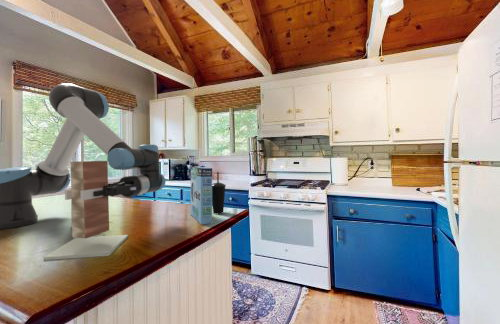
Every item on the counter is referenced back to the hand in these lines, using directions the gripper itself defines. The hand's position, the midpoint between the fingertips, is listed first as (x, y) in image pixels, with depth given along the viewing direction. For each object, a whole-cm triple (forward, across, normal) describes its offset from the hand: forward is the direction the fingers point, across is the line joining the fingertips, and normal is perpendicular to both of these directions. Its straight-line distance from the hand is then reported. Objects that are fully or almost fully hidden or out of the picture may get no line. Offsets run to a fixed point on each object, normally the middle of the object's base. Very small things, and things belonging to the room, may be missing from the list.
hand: (73, 195), depth 68 cm
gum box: (-44, -17, -17) cm, 50 cm away
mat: (-5, 0, -17) cm, 18 cm away
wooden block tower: (-5, 0, -12) cm, 14 cm away
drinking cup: (-57, -20, -17) cm, 62 cm away
